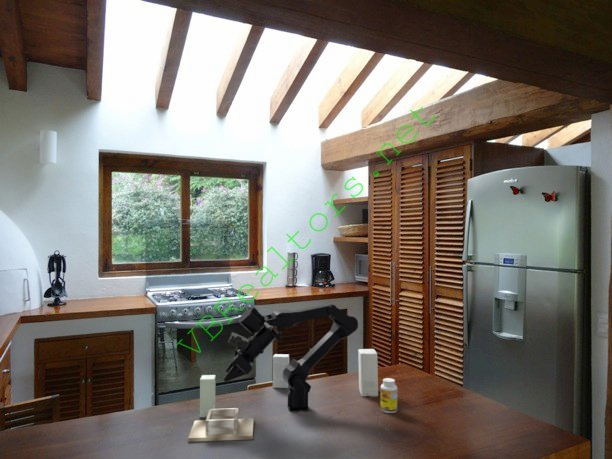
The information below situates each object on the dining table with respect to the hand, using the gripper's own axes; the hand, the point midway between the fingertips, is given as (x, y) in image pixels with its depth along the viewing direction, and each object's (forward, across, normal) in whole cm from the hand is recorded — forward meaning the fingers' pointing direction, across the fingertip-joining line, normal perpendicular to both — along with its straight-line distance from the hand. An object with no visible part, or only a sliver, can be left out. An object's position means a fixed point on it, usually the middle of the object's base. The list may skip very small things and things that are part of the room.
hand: (225, 376), depth 141 cm
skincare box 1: (-5, -25, +22) cm, 34 cm away
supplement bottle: (-30, +2, +47) cm, 56 cm away
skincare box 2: (-28, -15, +45) cm, 55 cm away
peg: (+13, 0, +5) cm, 13 cm away
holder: (+8, +13, +9) cm, 18 cm away
